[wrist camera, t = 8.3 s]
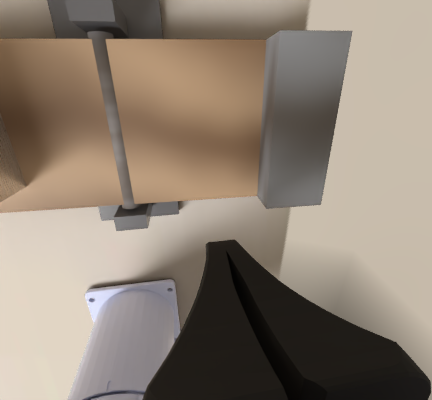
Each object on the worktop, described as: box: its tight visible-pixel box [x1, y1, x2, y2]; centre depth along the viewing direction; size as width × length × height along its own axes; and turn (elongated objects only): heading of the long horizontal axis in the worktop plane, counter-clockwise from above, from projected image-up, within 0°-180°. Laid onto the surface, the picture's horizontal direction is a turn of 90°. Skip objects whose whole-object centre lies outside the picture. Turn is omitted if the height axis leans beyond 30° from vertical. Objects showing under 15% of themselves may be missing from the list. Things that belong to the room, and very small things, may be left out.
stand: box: [47, 0, 179, 231], centre depth 15 cm, size 14×6×4 cm, turn 1°
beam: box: [0, 30, 352, 213], centre depth 13 cm, size 10×26×3 cm, turn 91°
